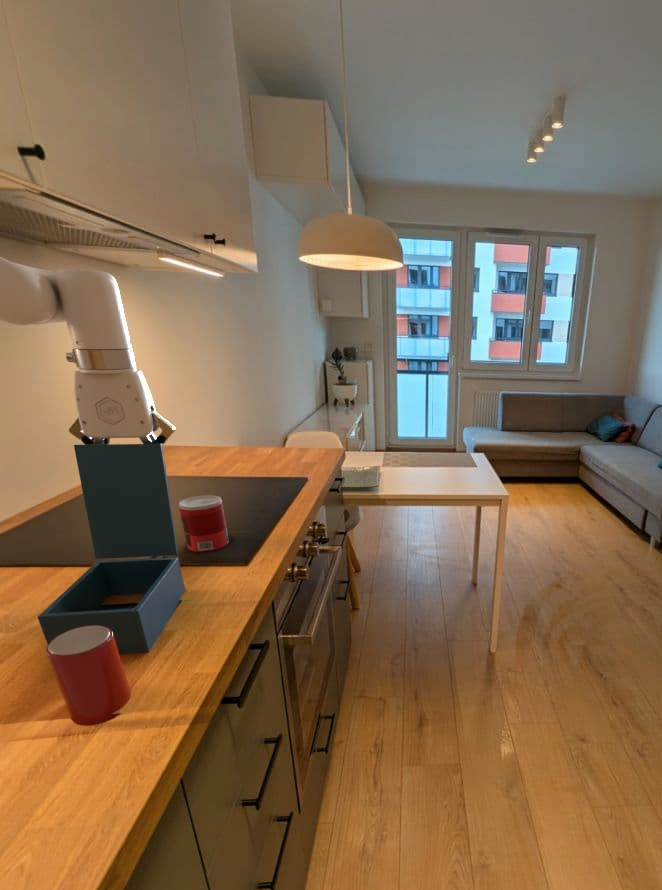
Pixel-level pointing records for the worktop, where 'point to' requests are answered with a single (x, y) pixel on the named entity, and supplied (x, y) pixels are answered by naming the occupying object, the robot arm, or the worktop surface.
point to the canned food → (204, 523)
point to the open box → (127, 621)
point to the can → (89, 674)
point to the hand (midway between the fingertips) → (134, 474)
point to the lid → (127, 500)
